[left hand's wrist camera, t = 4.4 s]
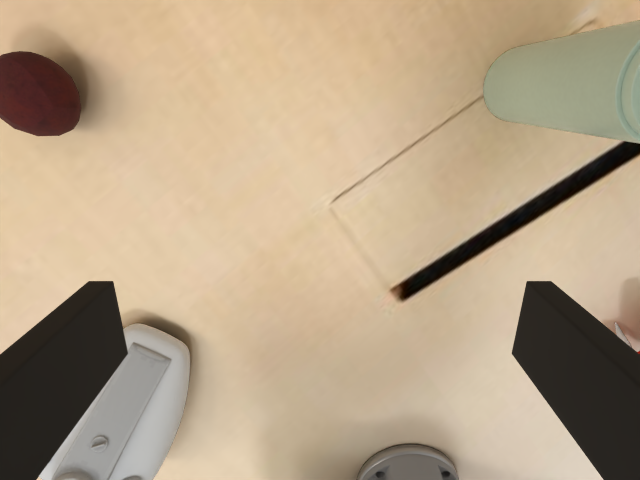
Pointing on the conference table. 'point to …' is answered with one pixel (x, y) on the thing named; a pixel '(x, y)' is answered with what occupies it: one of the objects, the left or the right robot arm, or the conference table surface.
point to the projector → (129, 414)
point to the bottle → (572, 83)
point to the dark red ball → (37, 95)
